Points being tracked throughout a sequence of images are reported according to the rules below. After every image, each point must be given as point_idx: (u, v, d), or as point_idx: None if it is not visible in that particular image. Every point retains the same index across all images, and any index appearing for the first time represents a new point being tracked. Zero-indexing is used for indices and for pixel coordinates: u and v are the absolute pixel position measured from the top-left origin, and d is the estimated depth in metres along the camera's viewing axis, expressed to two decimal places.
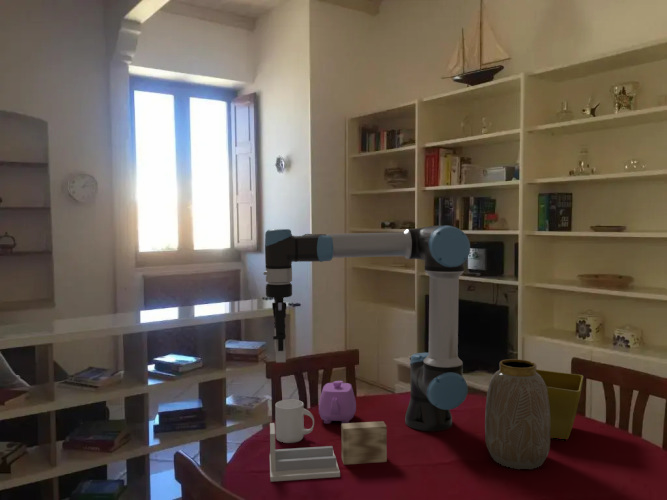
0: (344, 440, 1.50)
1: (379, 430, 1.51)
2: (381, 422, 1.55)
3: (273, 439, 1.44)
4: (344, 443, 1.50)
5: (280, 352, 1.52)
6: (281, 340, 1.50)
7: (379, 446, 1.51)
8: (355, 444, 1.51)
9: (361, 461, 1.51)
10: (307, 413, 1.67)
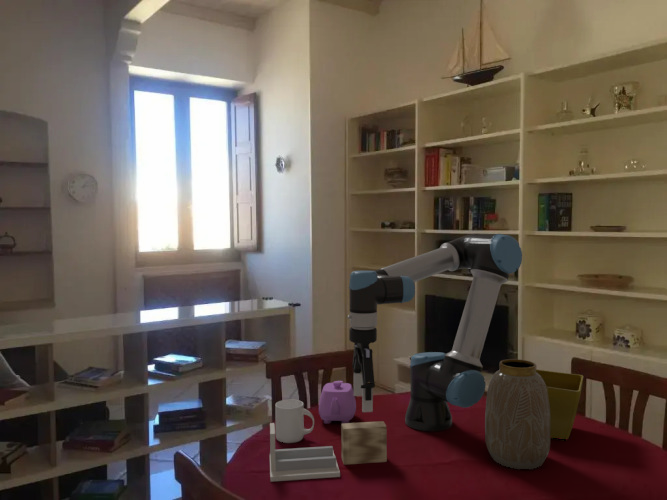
0: (344, 440, 1.50)
1: (379, 430, 1.51)
2: (381, 422, 1.55)
3: (273, 439, 1.44)
4: (344, 443, 1.50)
5: (367, 401, 1.45)
6: (369, 389, 1.44)
7: (379, 446, 1.51)
8: (355, 444, 1.51)
9: (361, 461, 1.51)
10: (307, 413, 1.67)
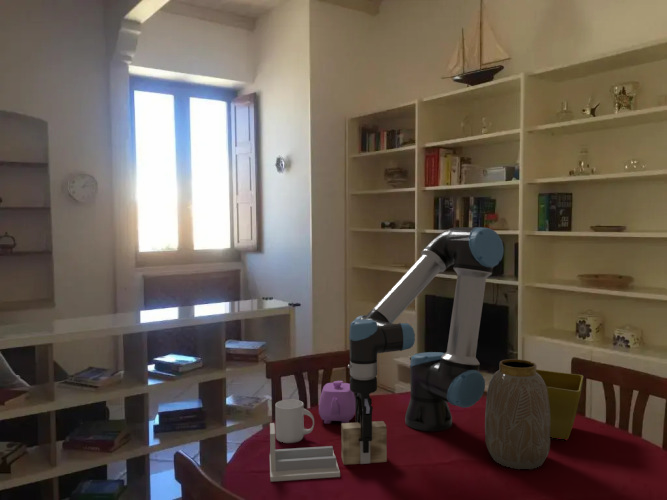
0: (344, 440, 1.50)
1: (379, 430, 1.51)
2: (381, 422, 1.54)
3: (273, 439, 1.44)
4: (344, 443, 1.50)
5: (365, 453, 1.50)
6: (367, 442, 1.49)
7: (379, 446, 1.51)
8: (355, 444, 1.50)
9: None
10: (307, 413, 1.67)
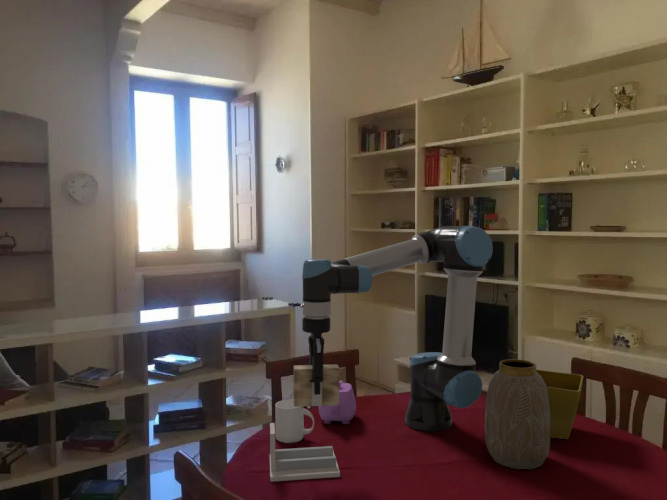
0: (295, 381, 1.46)
1: (332, 372, 1.47)
2: (335, 365, 1.50)
3: (273, 439, 1.44)
4: (295, 384, 1.46)
5: (316, 395, 1.46)
6: (318, 383, 1.45)
7: (332, 388, 1.47)
8: (306, 385, 1.46)
9: None
10: (307, 413, 1.67)
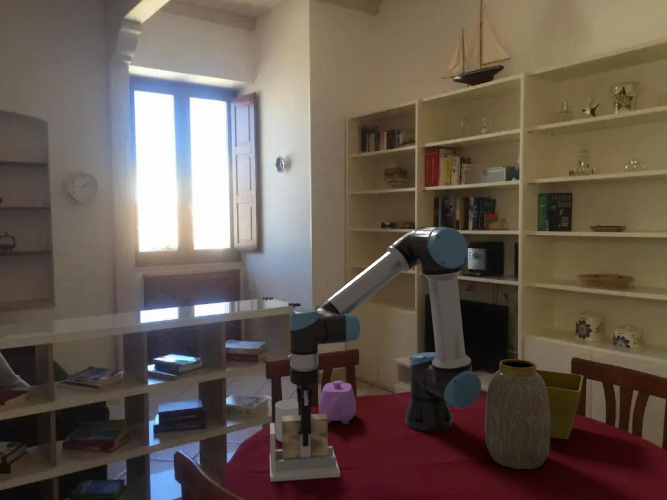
0: (283, 433, 1.46)
1: (320, 423, 1.47)
2: (323, 415, 1.50)
3: (273, 439, 1.44)
4: (283, 436, 1.46)
5: (305, 447, 1.46)
6: (306, 435, 1.45)
7: (320, 439, 1.47)
8: (294, 437, 1.46)
9: None
10: None
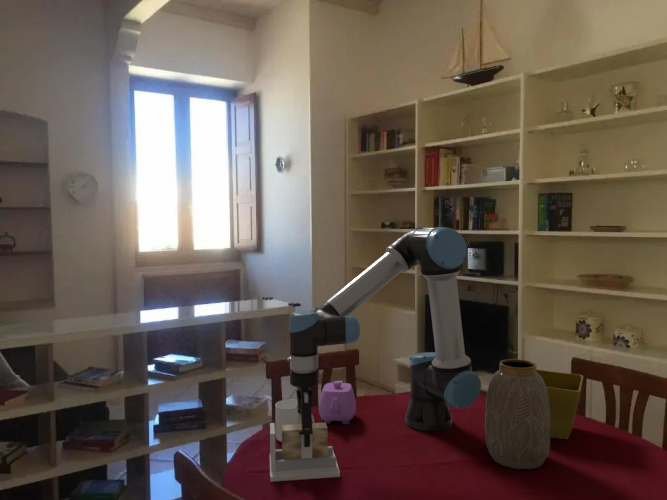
0: (283, 442, 1.46)
1: (320, 432, 1.47)
2: (323, 423, 1.50)
3: (273, 439, 1.44)
4: (283, 445, 1.46)
5: (306, 447, 1.42)
6: (308, 435, 1.40)
7: (320, 448, 1.47)
8: (294, 446, 1.46)
9: None
10: None
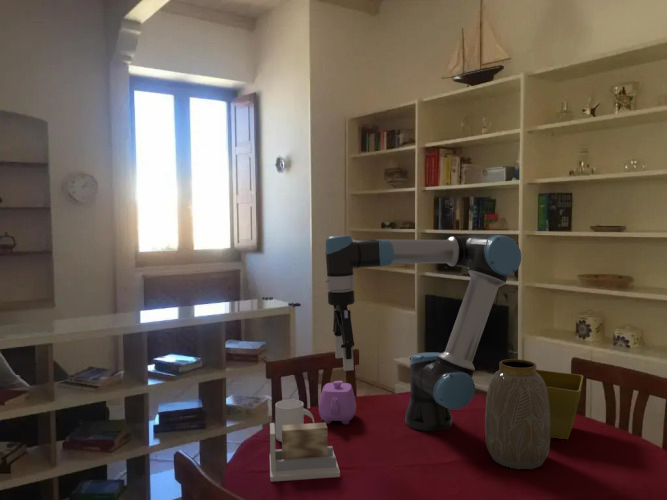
0: (283, 442, 1.46)
1: (320, 432, 1.47)
2: (323, 423, 1.50)
3: (273, 439, 1.44)
4: (283, 445, 1.46)
5: (348, 360, 1.51)
6: (349, 348, 1.49)
7: (320, 448, 1.47)
8: (294, 446, 1.46)
9: None
10: (307, 413, 1.67)
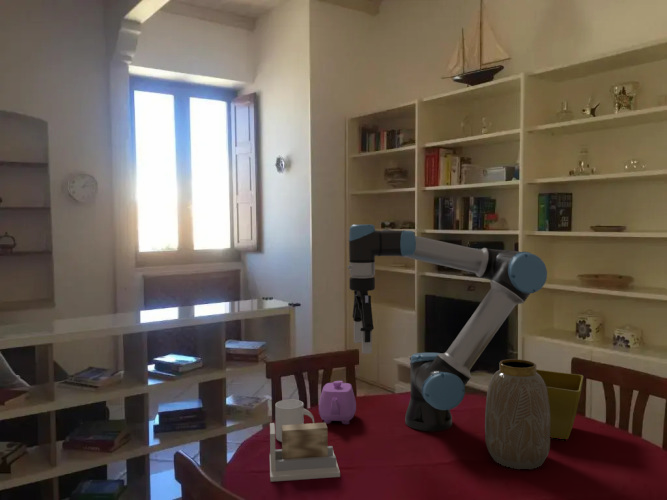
0: (283, 442, 1.46)
1: (320, 432, 1.47)
2: (323, 423, 1.50)
3: (273, 439, 1.44)
4: (283, 445, 1.46)
5: (366, 343, 1.57)
6: (368, 332, 1.55)
7: (320, 448, 1.47)
8: (294, 446, 1.46)
9: None
10: (307, 413, 1.67)
